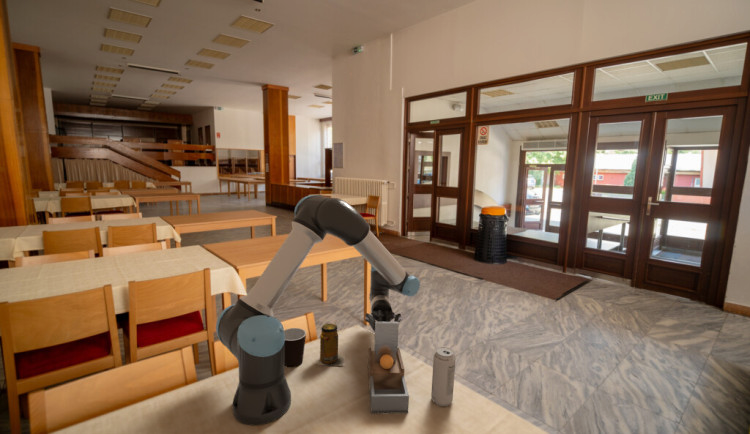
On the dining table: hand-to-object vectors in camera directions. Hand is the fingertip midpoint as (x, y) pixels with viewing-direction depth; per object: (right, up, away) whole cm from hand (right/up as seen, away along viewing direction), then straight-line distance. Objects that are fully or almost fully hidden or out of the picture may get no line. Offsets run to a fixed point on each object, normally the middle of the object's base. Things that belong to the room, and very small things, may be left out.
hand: (387, 339), depth 106 cm
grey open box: (0, -14, -9) cm, 17 cm away
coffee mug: (-31, -11, +11) cm, 35 cm away
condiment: (-19, -11, +11) cm, 25 cm away
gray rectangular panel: (-1, -7, 0) cm, 7 cm away
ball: (-1, -5, -3) cm, 6 cm away
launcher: (-1, -13, +1) cm, 13 cm away
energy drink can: (+15, -15, -8) cm, 22 cm away
